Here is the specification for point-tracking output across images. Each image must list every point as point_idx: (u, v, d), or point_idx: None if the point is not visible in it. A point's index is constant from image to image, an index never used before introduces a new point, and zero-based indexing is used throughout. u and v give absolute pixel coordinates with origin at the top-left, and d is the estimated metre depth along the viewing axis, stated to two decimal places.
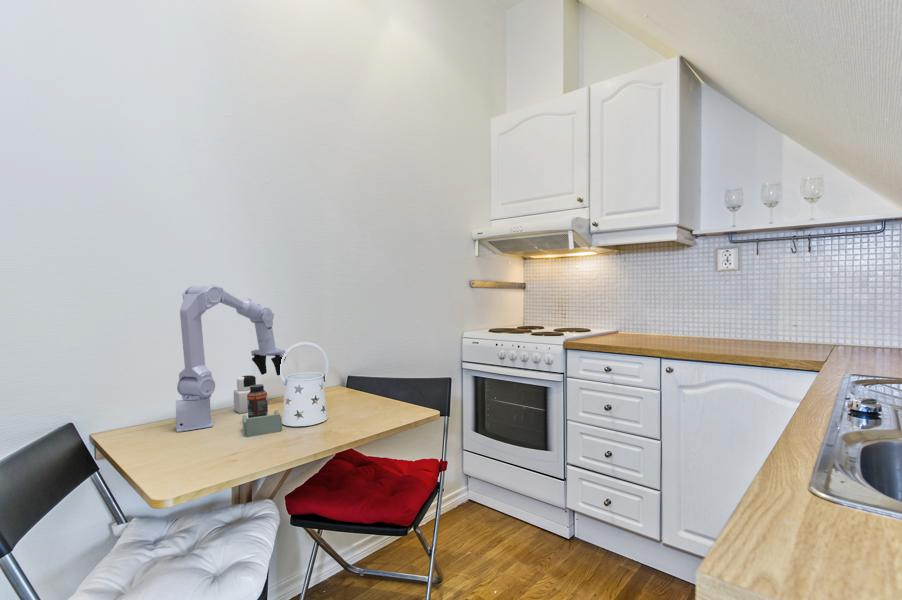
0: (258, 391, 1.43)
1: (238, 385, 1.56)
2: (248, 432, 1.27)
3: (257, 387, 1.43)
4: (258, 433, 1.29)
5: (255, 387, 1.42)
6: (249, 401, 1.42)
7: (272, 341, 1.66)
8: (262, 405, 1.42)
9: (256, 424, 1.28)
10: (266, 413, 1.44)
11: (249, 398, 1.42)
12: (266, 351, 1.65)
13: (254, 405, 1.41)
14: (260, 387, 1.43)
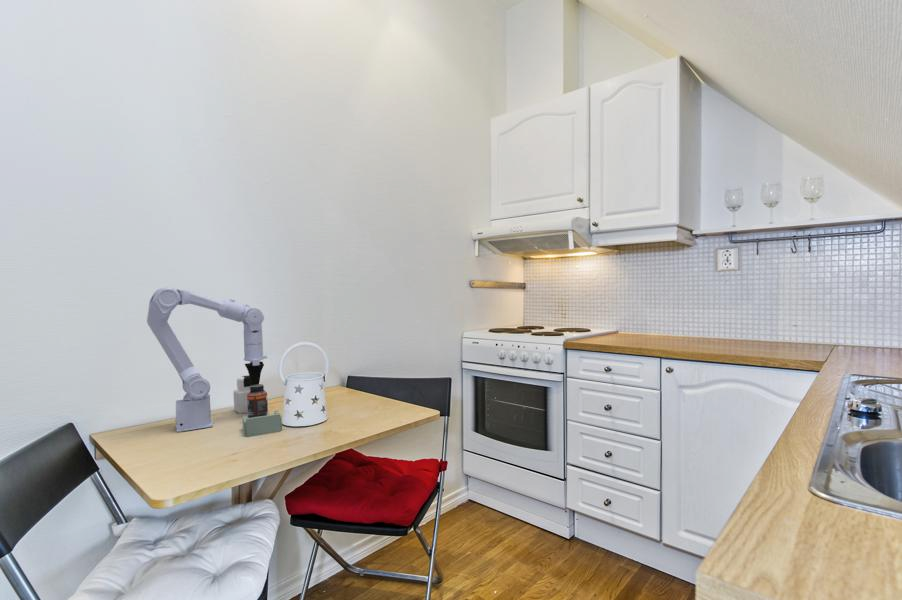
0: (258, 391, 1.43)
1: (238, 385, 1.56)
2: (248, 432, 1.27)
3: (257, 387, 1.43)
4: (258, 433, 1.29)
5: (255, 387, 1.42)
6: (249, 401, 1.42)
7: (254, 347, 1.48)
8: (262, 405, 1.42)
9: (256, 424, 1.28)
10: (266, 413, 1.44)
11: (249, 398, 1.42)
12: (246, 357, 1.48)
13: (254, 405, 1.41)
14: (260, 387, 1.43)
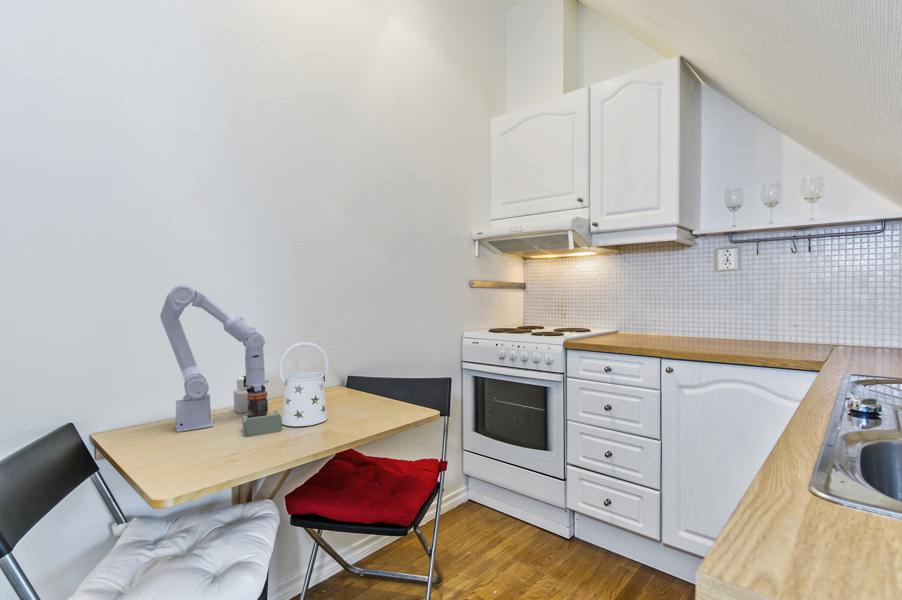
0: (258, 391, 1.42)
1: (238, 385, 1.56)
2: (248, 432, 1.27)
3: None
4: (258, 433, 1.29)
5: None
6: (249, 401, 1.42)
7: (256, 372, 1.46)
8: (262, 405, 1.42)
9: (256, 424, 1.28)
10: (266, 413, 1.44)
11: (249, 398, 1.42)
12: (248, 382, 1.46)
13: (254, 405, 1.41)
14: (261, 387, 1.43)
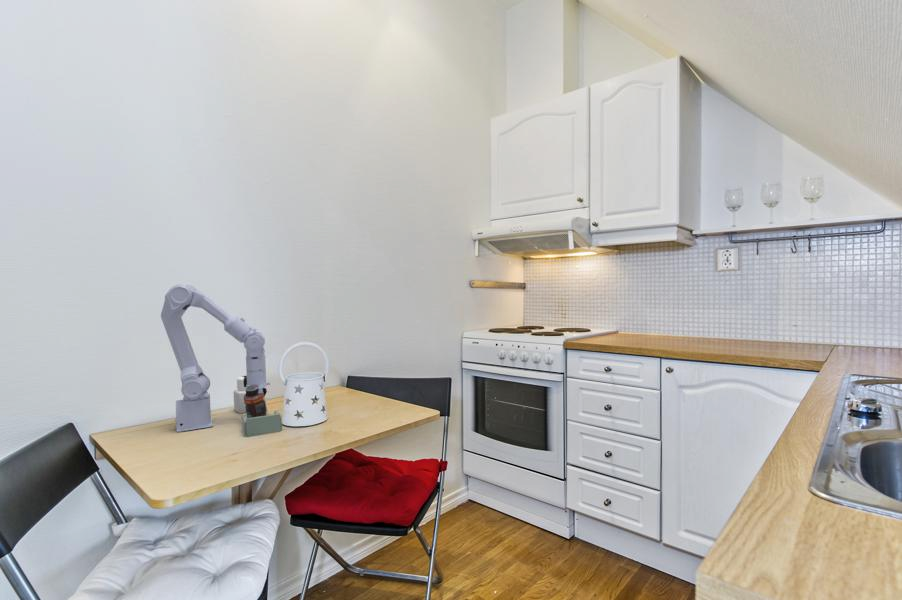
0: (255, 395, 1.38)
1: (238, 385, 1.56)
2: (248, 432, 1.27)
3: (253, 391, 1.37)
4: (258, 433, 1.29)
5: (251, 391, 1.37)
6: (246, 404, 1.38)
7: (257, 373, 1.43)
8: (260, 408, 1.39)
9: (256, 424, 1.28)
10: (265, 413, 1.41)
11: (246, 402, 1.37)
12: (249, 384, 1.43)
13: (252, 408, 1.38)
14: (256, 391, 1.38)
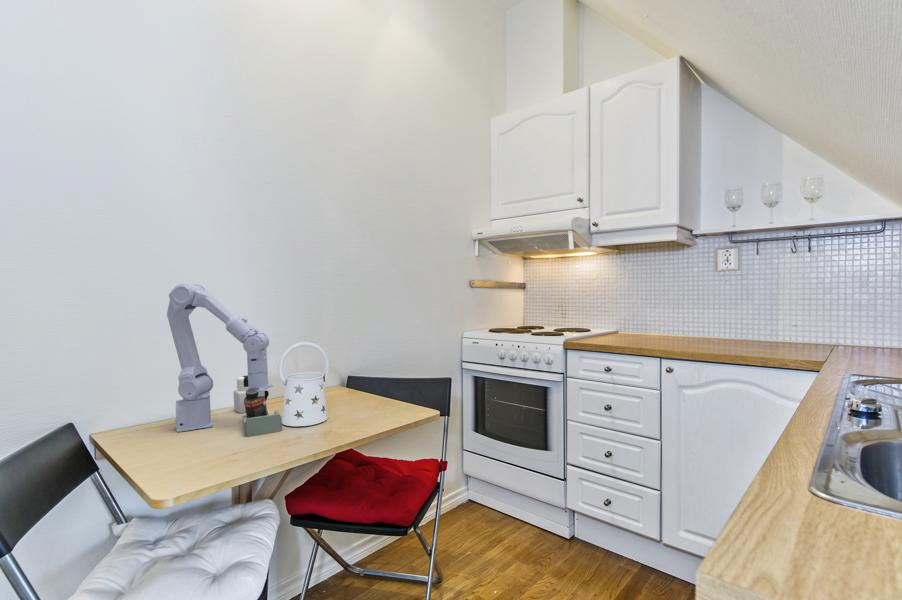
0: (254, 398, 1.33)
1: (238, 385, 1.56)
2: (248, 432, 1.27)
3: (252, 394, 1.33)
4: (258, 433, 1.29)
5: (250, 394, 1.33)
6: (246, 408, 1.33)
7: (259, 376, 1.38)
8: (259, 412, 1.34)
9: (256, 424, 1.28)
10: None
11: (245, 405, 1.33)
12: (250, 386, 1.38)
13: (251, 412, 1.33)
14: (256, 394, 1.33)
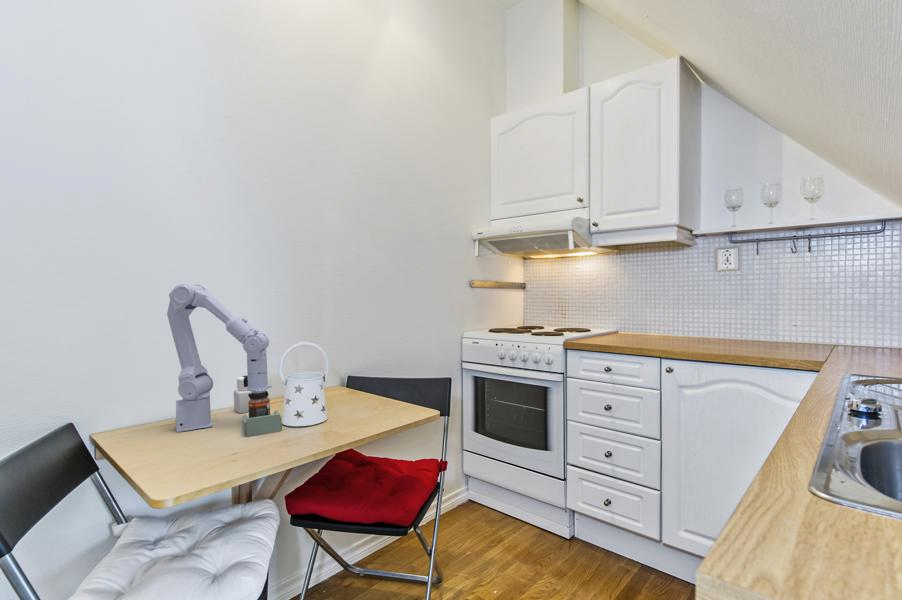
0: (258, 398, 1.32)
1: (238, 385, 1.56)
2: (248, 432, 1.27)
3: (257, 394, 1.32)
4: (258, 433, 1.29)
5: (255, 393, 1.32)
6: (249, 408, 1.32)
7: (259, 376, 1.38)
8: (261, 413, 1.32)
9: (256, 424, 1.28)
10: None
11: (249, 405, 1.32)
12: (250, 387, 1.38)
13: (253, 412, 1.31)
14: (261, 394, 1.33)
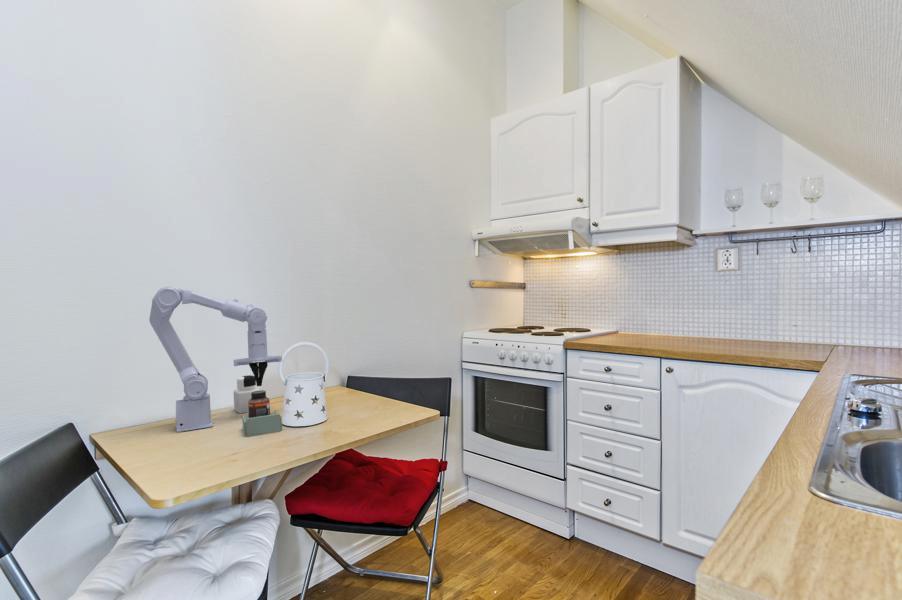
0: (258, 398, 1.32)
1: (238, 385, 1.56)
2: (248, 432, 1.27)
3: (257, 394, 1.32)
4: (258, 433, 1.29)
5: (255, 394, 1.32)
6: (249, 408, 1.32)
7: (248, 347, 1.46)
8: (261, 413, 1.32)
9: (256, 424, 1.28)
10: None
11: (249, 405, 1.32)
12: None
13: (253, 412, 1.31)
14: (261, 394, 1.33)
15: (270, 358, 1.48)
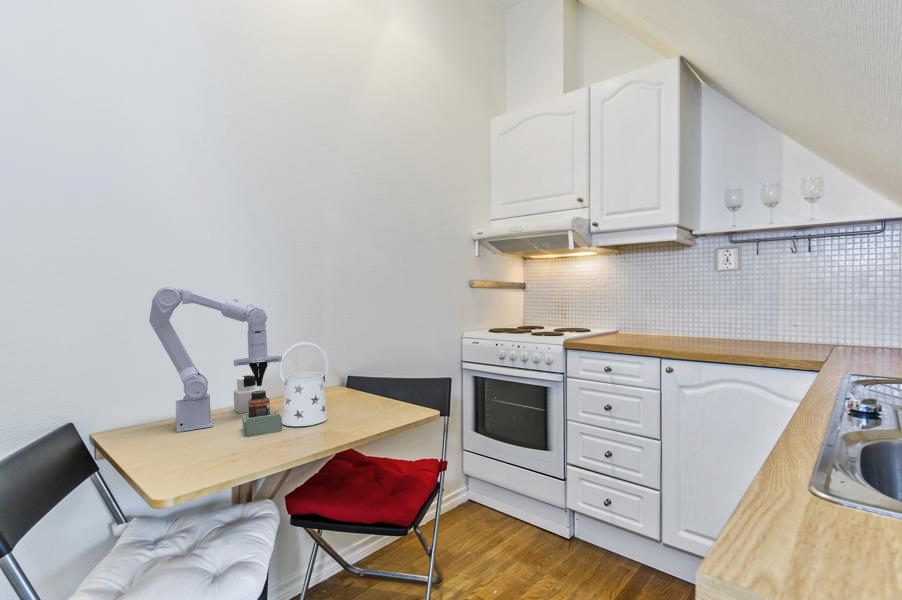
0: (258, 398, 1.32)
1: (238, 385, 1.56)
2: (248, 432, 1.27)
3: (257, 394, 1.32)
4: (258, 433, 1.29)
5: (255, 394, 1.32)
6: (249, 408, 1.32)
7: (248, 347, 1.46)
8: (261, 413, 1.32)
9: (256, 424, 1.28)
10: None
11: (249, 405, 1.32)
12: None
13: (253, 412, 1.31)
14: (261, 394, 1.33)
15: (270, 358, 1.48)
